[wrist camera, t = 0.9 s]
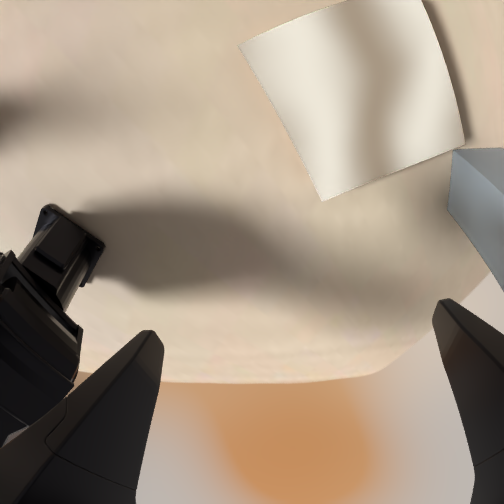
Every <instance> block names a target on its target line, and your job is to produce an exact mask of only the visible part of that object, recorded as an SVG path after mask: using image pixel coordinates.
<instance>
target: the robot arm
mask: <svg viewBox="0 0 504 504" xmlns="http://www.w3.org/2000/svg"><path fill="white" fill-rule="evenodd" d="M46 211H47V212H46ZM99 247H100V248H99ZM104 249H105V245H104V243H103V242H101V241H100V240H98V239H97V238H95V237H94V236H92V235H91V234H89V233H88V232H86V231H85V230H83V229H82V228H80V227H79V226H77V225H76V224H74V223H73V222H71V221H70V220H68V219H67V218H65V217H64V216H62V215H61V214H60V213H58V212H57V211H55V210H54V209H52V208H51V207H50V206H48V205H45V206H44V207H43V208H42V209H41V211H40V215H39V218H38V221H37V225H36V228H35V232H34V235H33V239H32V240H31V241H30V243H29V244H28V245H27V246H26V248H25V249H24V250H23V252H22V253H21V254H20V256H19V257H18V258H16V257H15V256H16V255H15V254H14V252H13V251H12V250H10V251H8V252H7V253H5V254H3V253H1V252H0V504H136V499H135V496H136V489H137V485H138V480H139V475H140V470H141V465H142V460H143V456H144V451H145V447H146V442H147V438H148V433H149V429H150V425H151V421H152V416H153V412H154V408H155V404H156V400H157V396H158V392H159V387H160V381H161V373H162V365H163V358H164V345H163V343H162V342H161V340H160V339H159V337H158V336H157V334H156V333H155V331H153V330H143V331H141V332H140V333H139V334H137V335H136V336H135V337H134V338H133V339H132V340H131V341H129V342H128V343H127V344H126V345H125V346H124V347H123V348H121V349H120V350H119V351H118V352H117V353H116V354H115V355H113V356H112V357H111V358H110V359H109V360H108V361H107V362H105V363H104V364H103V365H102V366H101V367H100V368H99V369H97V370H96V371H95V372H94V373H93V374H92V375H91V376H90V377H88V378H87V379H86V380H85V381H84V382H83V383H82V384H80V385H79V386H78V387H77V388H76V389H75V390H74V391H73V392H71V393H70V394H69V395H68V397H65V396H66V395H67V394H68V392H69V391H70V390H71V389H72V388H73V387H74V383H73V382H74V380H75V379H76V376H77V373H78V369H79V363H80V351H81V343H82V336H83V329H82V328H81V327H80V326H79V325H77V324H76V323H75V322H74V321H73V320H72V319H71V318H70V317H69V316H68V315H67V314H66V313H65V312H66V310H67V308H68V306H69V304H70V302H71V300H72V298H73V296H74V294H75V292H76V291H77V289H78V287H84V286H85V284H86V282H87V280H88V278H89V276H90V274H91V272H92V271H93V269H94V267H95V265H96V263H97V262H98V260H99V258H100V256H101V254H102V253H103V251H104ZM432 323H433V328H434V331H435V335H436V339H437V342H438V346H439V350H440V354H441V358H442V362H443V365H444V368H445V371H446V373H447V376H448V379H449V382H450V385H451V388H452V391H453V394H454V397H455V400H456V403H457V406H458V410H459V413H460V416H461V420H462V423H463V427H464V430H465V434H466V438H467V442H468V445H469V450H470V453H471V458H472V462H473V466H474V472H475V482H474V488H473V494H472V498H471V502H470V504H504V335H503V334H502V333H501V332H499V331H498V330H496V329H495V328H493V327H492V326H491V325H489V324H488V323H486V322H485V321H483V320H482V319H480V318H479V317H477V316H476V315H474V314H473V313H471V312H470V311H469V310H467V309H465V308H464V307H462V306H461V305H460V304H458V303H456V302H455V301H453V300H452V299H450V298H447V299H442V300H439V301H438V303H437V306H436V308H435V311H434V314H433V318H432ZM64 397H65V398H64ZM27 427H28V428H27ZM25 428H27V429H26V430H24V431H23V432H22V433H20V434H19V435H18V436H17V437H15V438H14V439H12V440H11V441H10V442H9V443H7V444H6V445H5V443H6V441H7V439H8V438H9V436H10V435H12V434H14V433H17V432H19V431H21V430H23V429H25Z"/></svg>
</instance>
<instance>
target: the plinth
mask: <svg viewBox="0 0 504 504" xmlns="http://www.w3.org/2000/svg"><path fill="white" fill-rule="evenodd" d="M237 46H238V48H239V50H240V51H241V53H242V54H243V56H244V58H245V59H246V61H247V63H248V64H249V66H250V68H251V69H252V71H253V73H254V74H255V76H256V78H257V79H258V81H259V83H260V85H261V86H262V88H263V90H264V91H265V93H266V95H267V97H268V99H269V100H270V102H271V104H272V106H273V107H274V109H275V111H276V113H277V115H278V117H279V118H280V120H281V122H282V124H283V126H284V128H285V129H286V131H287V133H288V135H289V137H290V139H291V141H292V143H293V145H294V147H295V149H296V150H297V152H298V154H299V156H300V158H301V160H302V162H303V164H304V166H305V168H306V170H307V172H308V174H309V176H310V178H311V180H312V182H313V185H314V187H315V189H316V191H317V193H318V195H319V197H320V199H321V201H322V202H323V201H325V200H328V199H330V198H333V197H335V196H337V195H340V194H342V193H345V192H347V191H350V190H352V189H354V188H357V187H359V186H362V185H364V184H367V183H369V182H372V181H374V180H377V179H379V178H382V177H384V176H386V175H389V174H391V173H394V172H396V171H399V170H401V169H404V168H406V167H409V166H411V165H414V164H417V163H419V162H422V161H424V160H427V159H429V158H432V157H434V156H437V155H439V154H442V153H445V152H447V151H450V150H452V149H455V148H457V147H460V146H463V145H465V139H464V134H463V129H462V124H461V119H460V115H459V110H458V106H457V102H456V98H455V94H454V90H453V87H452V83H451V80H450V76H449V73H448V70H447V66H446V63H445V60H444V57H443V54H442V51H441V48H440V46H439V43H438V40H437V37H436V35H435V32H434V29H433V27H432V24H431V22H430V20H429V17H428V15H427V12H426V10H425V8H424V6H423V3H422V1H421V0H347V1H344V2H340V3H337V4H334V5H331V6H328V7H325V8H323V9H320V10H317V11H314V12H312V13H309V14H306V15H304V16H301V17H299V18H296V19H294V20H291V21H289V22H286V23H284V24H282V25H279V26H277V27H275V28H273V29H270V30H268V31H266V32H264V33H262V34H260V35H257V36H255V37H253V38H251V39H249V40H247V41H245V42H243V43H241V44H239V45H237Z"/></svg>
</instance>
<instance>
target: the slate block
mask: <svg viewBox="0 0 504 504" xmlns="http://www.w3.org/2000/svg"><path fill="white" fill-rule="evenodd" d="M447 210H448V212H449V213H450V214H451V215H452V217H453V218H454V219H455V221H456V222H457V223H458V225H459V226H460V227H461V229H462V230H463V231H464V233H465V234H466V235H467V237H468V238H469V239H470V241H471V242H472V244H473V245H474V247H475V248H476V249H477V251H478V252H479V254H480V255H481V257H482V258H483V260H484V261H485V263H486V264H487V266H488V267H489V269H490V270H491V272H492V273H493V275H494V277H495V278H496V280H497V281H498V283H499V285H500V286H501V288H502V290H503V291H504V149H503V148H478V149H457V150H453V155H452V169H451V180H450V190H449V199H448V206H447Z"/></svg>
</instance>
